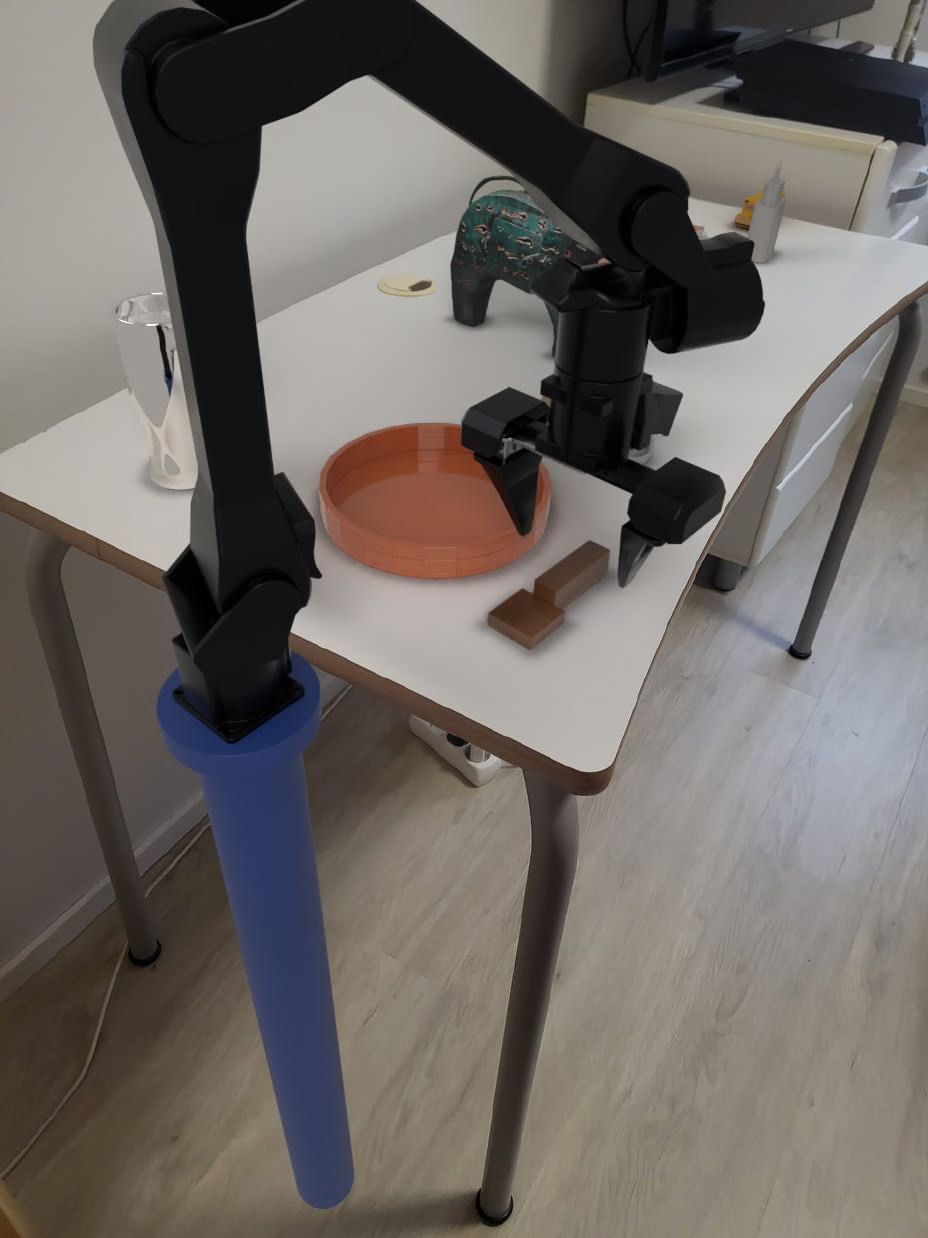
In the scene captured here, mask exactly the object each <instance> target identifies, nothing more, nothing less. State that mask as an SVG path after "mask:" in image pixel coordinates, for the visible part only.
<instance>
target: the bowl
mask: <svg viewBox="0 0 928 1238" xmlns="http://www.w3.org/2000/svg"><path fill="white" fill-rule="evenodd" d="M460 438H461V424H457V423H451V422H414V423H413V422H412V423H406V424H399V425H392V426H388V427H384V428H380V429H377V430H374V431H370V432H367V433H364V434H363V435H360V436H358V437H356V438H355V439H352V440H350V441H348V442H347V443H344V444H343V445H342V446H341V447H340V448H338V449H337V450H336V451H335V452H334V453H333V454H331V455H330V456H329V457H328V459H327V461H326V463H325V464H324V465H323V468H322V469H321V471H320V473H319V481H318V497H319V507H320V515H321V520H322V524H323V527H324V529H325V531H326V533H327V535H328V537H329V538H330V539H331V540H332V542H333V543H334V544H335V545H336V546H337V547H338V548H339V549H341V551H343V552H344V553H346V554H347V555H348V556H350V557H351V558H353V559H354V560H356V561H359V562H360V563H362V564H364V565H366V566H369V567H372V568H374V569H376V570H380V571H382V572H386V573H389V574H394V575H399V576H403V577H404V576H405V577H409V578H411V577H412V578H421V579H454V578H455V579H457V578H463V577H469V576H475V575H480V574H484V573H487V572H490V571H491V572H492V571H494V570H497V569H501V568H503V567H504V566H506V565H509V564H510V563H513V562H515V561H517V560H518V559H520V558H522V557H523V556H524V555H526V554H527V553H528V552H529V551H530V550H531V549H533V548H534V547H535V545H536V544H537V543H538V542H539V541H540V539H541V537H542V536H543V534H544V533H545V530H546V528H547V525H548V518H549V513H550V505H551V499H552V498H551V496H552V489H553V487H552V482H551V478H550V474H549V471H548V469H547V467H546V466H545V464H544V463H543V462H542V461H541V462H540V465H539V474H538V485H537V496H536V507H535V516H534V521H533V526H532V530H531V532H530V533H529V534H527V535H526V536H524V537H522V536H521V535H519V533H518V531H517V529H516V527H515V525H514V523H513V521H512V519H511V517H510V515H509V513H508V511H507V509H506V507H505V505H504V503H503V501H502V500H501V498H500V496H499V494H498V492H497V490H496V489H495V487H494V485H493V484H492V482H491V480H490V479H489V477H488V475H487V473H486V472H485V470H484V468H483V467H482V465H481V464H480V463H478V462H476V461H475V460H474V458H473V452H474V451H472V450H470V449H468V448H465V447H463V446H461V441H460Z"/></svg>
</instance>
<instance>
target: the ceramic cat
mask: <svg viewBox="0 0 928 1238" xmlns="http://www.w3.org/2000/svg"><path fill="white" fill-rule="evenodd" d="M493 181H511V182H514V183H517V184H518V185H520V186H521V187H523V186H522V185H521V183H520V182H519V181H518V180H517V179H516V178H515V177H514V176H513V175H503V174H500V175H492V176H488V177H484V178H483V179H481V181H479V182H478V183H477V185H476V186H475V188H474V189H473V191H472V193H471V195H470V197H469V201H468V206H467V208H466V209H465V211H464V212H463V214H462V215H461V218H460V220H459V223H458V227H457V231H456V233H455V240H454V246H453V247H454V248H453V254H452V257H451V259H450V263H449V264H450V267H449V270H450V283H451V288H450V289H451V291H450V292H451V301H452V313H453V319H454V320H455V321H456V322H458V323H461V324H462V325H465V326H468V327H472V328H474V327H476V326H478V325H480V324H483V323H485V321H486V316H487V311H488V307H489V302H490V299H491V295H492V292H493V289H494V285H495V284H496V282H497V281H503V282H505V283H507V284H508V285H510V286H513V287H514V288H515V289H518V290H520V291H522V292H524V293H526V294H529V295H533V296H535V295H534V294H533V293H532V292H531V291H530V288H529V287H530V284H531V282H532V281H534V280H535V279H536V278H537V277H538V276H539V275H540V274H541V273H542V272H544V271H546V270H548V269H549V268H550V267H551V266H552V265H553V264H554V263H555V261H556V259H557V258H558V257H559V256H561V255H563V256H565V257H566V258H568V259H569V260H571V261H573V262H574V263H576V264H577V265H579V266H586V265H592V264H599V260H601V259H603V257H601V256H600V255H598V254H596V253H595V252H593V251H591V250H590V249H588V248H587V247H585V246H583V245H582V244H580V243H579V242H577V241H575V240H574V239H572V238H570V237H569V236H567V235H566V234H565V233H564V232H563V231H562V230H561V229H560V228H559V227H558V226H557V225H556V224H555V223H554V222H553V221H552V220H551V219H550V218H549V217H548V216H547V215H546V214H545V213H544V212H543V211H542V210H541V209H540V208H539V207H538V206H537V204H536V203H535V202H534V201H533V200H532V198H531V197H530V195H529V194H528V192H527V191H526V190H525V188H524V187H523V189H524V190H514V189H501V190H495V191H492V192H490V193H487V194H484V195H482V196H480V197H478V198H477V199H475V196H476V194H477V193H478V191H479V190H480V189H481V188H482V187H484V186H485V185H486V184H488V183H489V182H493ZM474 199H475V200H474ZM542 302H543V304H544V306H545V308H546V309H547V313H548V315H549V318H550V322H551V325H552V332H553V334H552V335H553V341H552V347H551V348H552V350H551V354H552V355H551V356H552V358H555V354H556V343H557V333H558V323H559V312H557V311H556V310H555V309H553V308H552V307H551V306H549V305H548V304H547V303H545V302H544V301H542Z"/></svg>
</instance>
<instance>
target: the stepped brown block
mask: <svg viewBox="0 0 928 1238" xmlns="http://www.w3.org/2000/svg"><path fill="white" fill-rule="evenodd" d="M610 555H611V549H609V548H608V547H606V546H603V545H602V544H600V543H597V542H595V541H593V540H591V539H588V540H587V541H586V542H584V543H583V544H582V545H580V546H579V547H577V548H576V549H575V550H573V551H572V552H571V553H569V554H567V556H565V557H563V558H562V559H561V560H559V562H557V563H556V564H554V565H553V566H551V567H549V568H548V569H547V570H546V571H545V572H543V573H542V574H541V575H539V576H538V577H537V578H535V579H534V580H533V581H534V583H533V591H532V592H531V591H530V590H527V589H526V588H523V587H522V588H520V589H519V590H517V591H516V592H515V593H514V594H512V595H511V596H509V597H508V598H507V599H505V600H504V601H503V602H500V604H498V605H497V606H495V607H494V608H492V609H491V610H490V611H489V612H488V613H487V614H488V615H487V626H488V627H490V628H491V629H494V630H495V631H497V632H498V633H500V634H502V635H503V636H505V637H507V638H509V639H511V640H512V641H514V642H515V643H517V644H519V645H520V646H522V647H524V648H526V649H527V650H529V651H531V650H533V649H534V648H535V647H537V645H538V644H540V643H541V642H542V641H544V640H545V639H546V638H548V636H550V635H551V634H552V633H554V632H556V630H558V628H560V627H561V626H562V625H564V623H565V622H564V621H565V615H566V611H565V609H566V608H567V607H569V605H571V604H572V603H574V602H575V601H576V600H577V599H578V598H580V597H581V596H583V594H585V593H586V592H587V591H589V590H590V589H591V588H593V586H595V585H596V584H598V583H599V582H601V580H602V579H604V578H605V577H606V576H607V574H608V568H609V562H610Z"/></svg>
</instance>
